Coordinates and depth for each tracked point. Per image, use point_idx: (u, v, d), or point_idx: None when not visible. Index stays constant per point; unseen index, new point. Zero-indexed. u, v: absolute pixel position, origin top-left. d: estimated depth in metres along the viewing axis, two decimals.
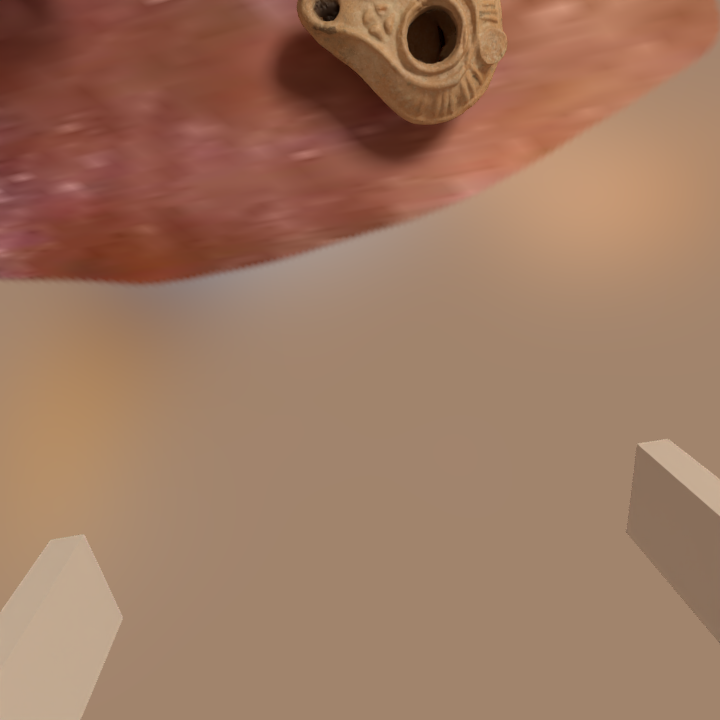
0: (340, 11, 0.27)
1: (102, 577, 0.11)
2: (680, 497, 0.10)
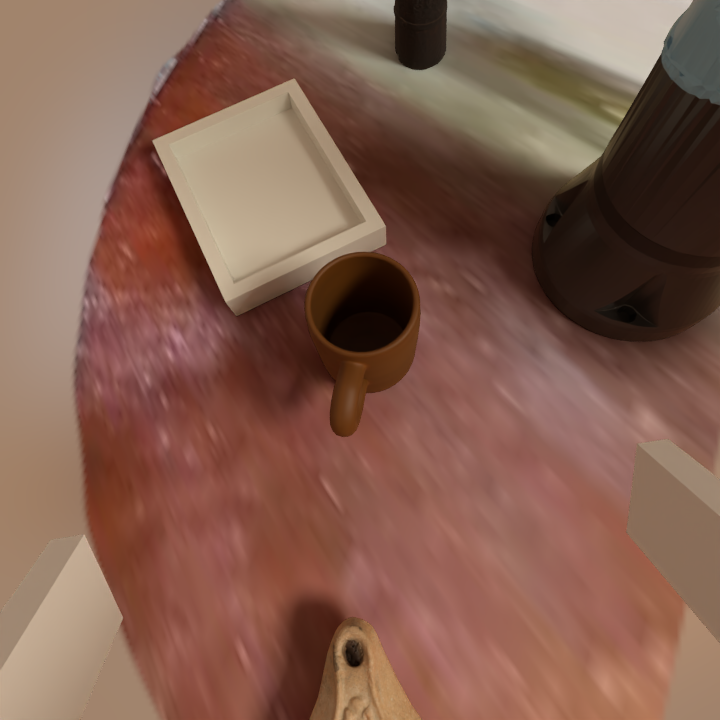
0: (353, 669, 0.28)
1: (102, 577, 0.11)
2: (679, 498, 0.10)
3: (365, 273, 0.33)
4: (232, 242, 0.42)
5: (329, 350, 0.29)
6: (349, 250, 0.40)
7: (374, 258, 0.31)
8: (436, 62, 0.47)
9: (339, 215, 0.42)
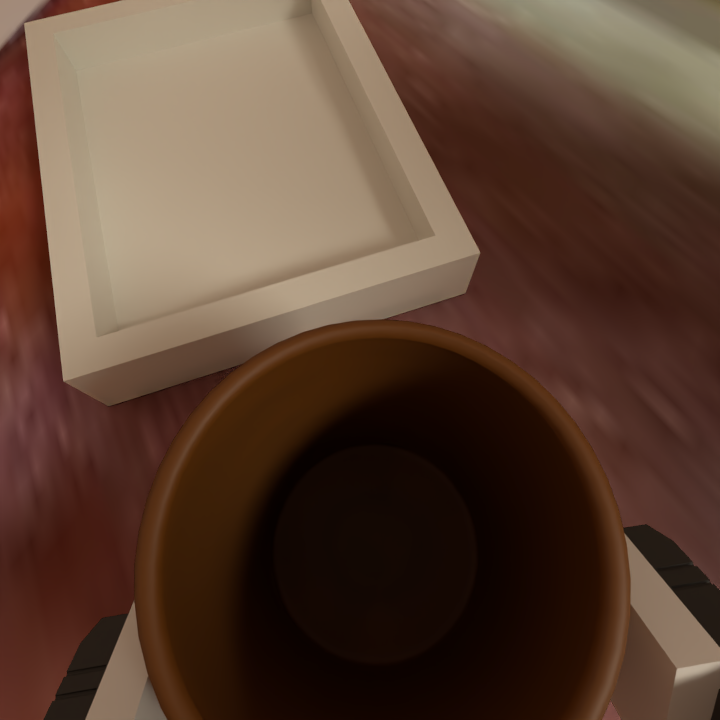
0: None
1: None
2: None
3: (399, 382, 0.11)
4: (135, 241, 0.19)
5: None
6: (387, 296, 0.17)
7: (444, 351, 0.08)
8: None
9: (373, 218, 0.19)
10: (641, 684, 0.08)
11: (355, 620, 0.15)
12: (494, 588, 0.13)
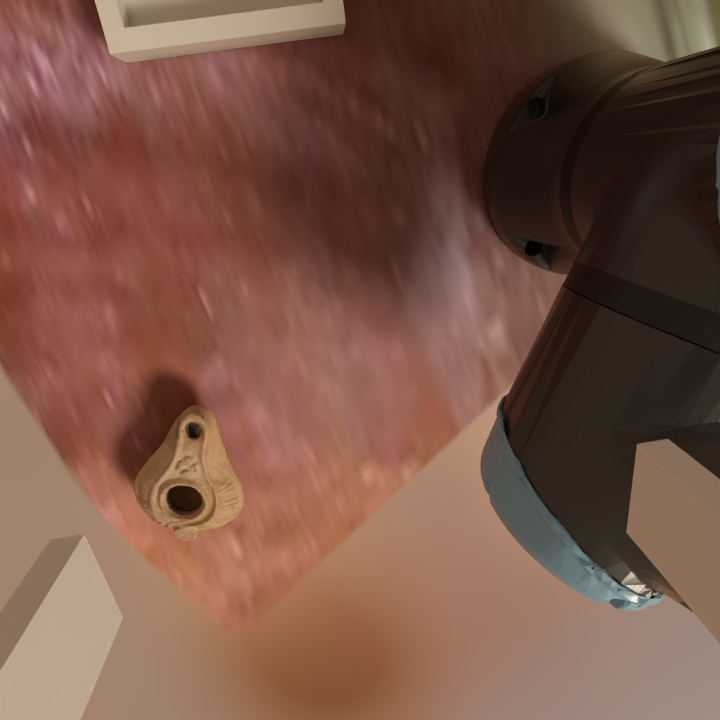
0: (191, 440, 0.38)
1: (102, 577, 0.11)
2: (680, 498, 0.10)
3: None
4: None
5: None
6: (290, 34, 0.30)
7: None
8: None
9: None
10: None
11: None
12: None
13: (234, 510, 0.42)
